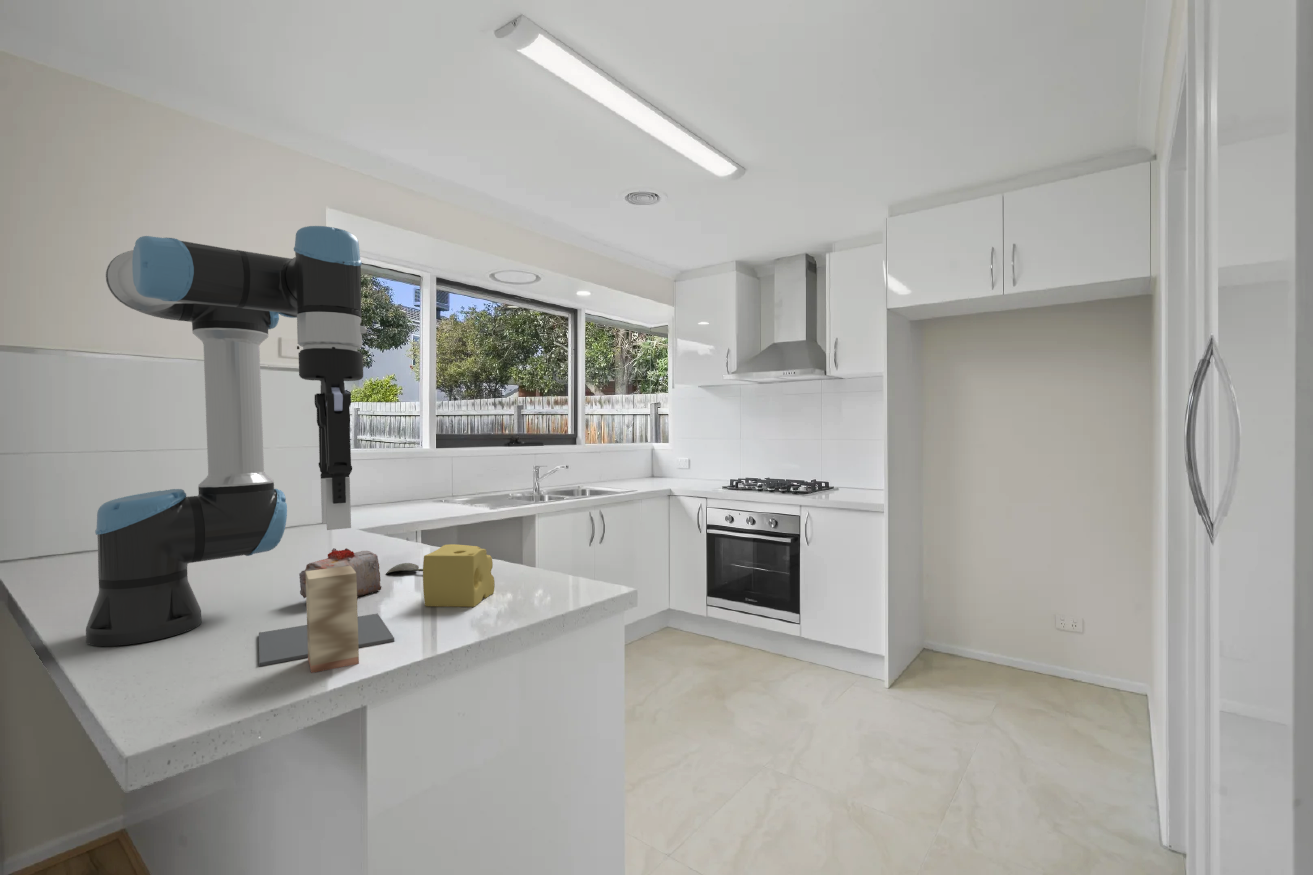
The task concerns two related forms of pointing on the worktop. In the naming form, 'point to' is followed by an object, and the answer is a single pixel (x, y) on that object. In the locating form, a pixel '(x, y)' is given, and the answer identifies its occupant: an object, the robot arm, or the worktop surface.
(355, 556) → the food item
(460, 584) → the cheese
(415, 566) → the soupspoon
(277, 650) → the mat
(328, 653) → the block
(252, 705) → the worktop surface
